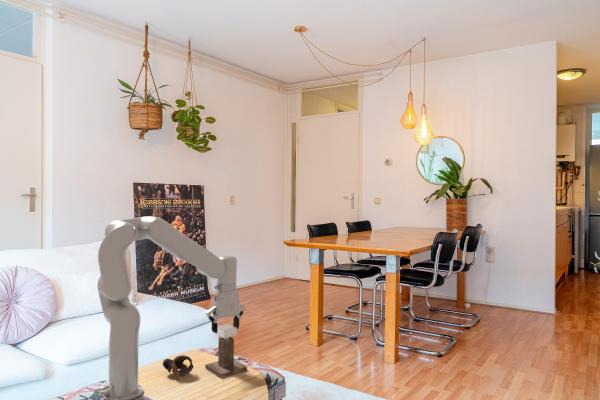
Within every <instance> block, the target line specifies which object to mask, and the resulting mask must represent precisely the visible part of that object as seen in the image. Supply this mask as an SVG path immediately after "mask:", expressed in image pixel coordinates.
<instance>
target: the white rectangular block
mask: <svg viewBox="0 0 600 400" xmlns="http://www.w3.org/2000/svg"><path fill="white" fill-rule="evenodd" d="M215 334H216V335H217V336H219V337H222V338H224V340H227V339H229V337H234V336H237V335H238V329H237V327H235V326H233V325H232V324H230V323H229V324H224V325H223V324H222V325H219V326H218V332H217V333H215Z"/></svg>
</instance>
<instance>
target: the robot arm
mask: <svg viewBox="0 0 600 400" xmlns="http://www.w3.org/2000/svg"><path fill="white" fill-rule="evenodd" d="M104 230H105V231H104V236H105V237H104V238H103V240H102V241H101V244H100V246H99V249H98V253H97V260H98V267H99V273H100V276H99V278H98V280H97V292H98V296H99V301H100V305H101V309H102V314H103V317H104V318H105V321H106V322H107V323H108V324H109V326H110V328H109V329H110V330H109V339H108V381H105V384H104V385H103V386H101V387H96V388H93V395H94V396H96V395H99V396H100V397H101V396H103V399H104V400H133V399H136V398H138V397H140V396H141V395H142V394H143V391H144V390H143V388H144V387H143V386H142V385H141V384H139V338H140V336H139V335H140V328H141V327H140V326H141V313H140V311H139V309H138V308H137V307H136V305H134V304H132V302H130V298H129V296H130V294H131V292H132V282H131V279H130V274H129V270H128V265H127V259H126V253H127V251H128V249H129V247H130V246H131V245H132V244H133V243H134V242H136V241H142V240H146V239H148V240H150V241H151V242H153V243H154V244H156V245H157V246H159V247H160V248H162V249H164V251H166V252H168V253H169V254H170V255H172V256H174V257H175V258H177V259H179V260H180V261H184V262H186V263H189V264H190V265H192V266H194V267H196V270H197V271H198V273H199V274H201V275H203V276H205V277H208V278H211V279H215V280H216V285H214V290H215V293H214V297H213V305H212V307H211V308H209V309H208V310H207V311H206V312H205V315H206V317H207V319H208V320H209V321H210V322H211V332H213V333H214V334H216V333H217V332H218V325H219V323H218V320H219V319H224V318H230V317H233V323H232V324H233V325H232V326H235V327H237V330H239V328H240V319H241V318H242V316H243V314H244V312H245V309H246V306H244V305H242V304H240V294H239V290H238V289H237V273H238V272H237V271H238V270H237V268H238V267H237V266H238V261H237V257H235V256H234V255H222V256H217V255H215V253H213V252H211V251H210V250H208V249H206V248H205V247H204V246H202V245H200V244H199V243H197V242H196V241H195V240H193V239H192V238H190V237H189V236H187V235H186V234H184V232H181V231H180V230H179V229H177V228H176V227H175V226H173V225H171V224H170V223H169V222H167V221H166V220H165V219H163V218H161V217H158V216H153V215H150V216H149V215H148V216H141V217H133V218H127V219H126V218H125V219H117V220H116V219H115V220H114V221H111V222H110V223H108V224H107V226H106V227H105V228H104Z"/></svg>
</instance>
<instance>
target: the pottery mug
mask: <svg viewBox="0 0 600 400" xmlns="http://www.w3.org/2000/svg"><path fill="white" fill-rule="evenodd" d="M186 360H188V361H189V366H188V365H187V364H185V361H186ZM162 367H163V368H164V369H165V370H166V371H168V373H171V372H172V373H174V376H173V378H174V379H175V380H179V379H180V378H182V377H185V376H188V375H189V374H190V373H191V372H192V370H193V369H194V368H195V367H194V365H193V360H192V358H191V357H190V356H187V355H183V354H181V355H178V356H176V357H174V359H171V358H166V359H164V360H163V361H162ZM173 371H174V372H173Z"/></svg>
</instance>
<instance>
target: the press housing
mask: <svg viewBox="0 0 600 400" xmlns="http://www.w3.org/2000/svg"><path fill="white" fill-rule="evenodd" d="M217 359H218V361H215V362H214V361H213V362H210V363H207V364H205V365H204V368H206V370H207V371H208V372H210V373H211V374H213V375H214V376H216V377H218V378H219V379H223V378H226V377H228V376H229V377H230V376H232V375H236V374H239V373H244V372H246V371H248V367H247V366H246V365H245V364H243V363H241V362H240V361H237V360H236V359H235V338H234V337H233V336H231V337H229V339H227V340H224V338H222V337H221V336H219V337H218V358H217Z"/></svg>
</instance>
